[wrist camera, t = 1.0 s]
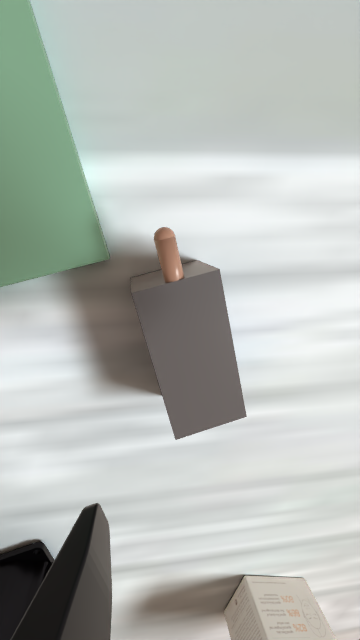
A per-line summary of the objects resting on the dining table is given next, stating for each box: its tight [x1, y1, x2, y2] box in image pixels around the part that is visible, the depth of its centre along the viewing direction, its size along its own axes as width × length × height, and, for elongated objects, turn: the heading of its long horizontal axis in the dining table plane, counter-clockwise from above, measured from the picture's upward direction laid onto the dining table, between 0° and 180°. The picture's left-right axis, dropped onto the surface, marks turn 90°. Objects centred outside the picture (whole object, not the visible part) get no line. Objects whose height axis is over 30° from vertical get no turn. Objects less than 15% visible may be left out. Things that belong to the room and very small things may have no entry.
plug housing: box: [130, 227, 246, 440], centre depth 16 cm, size 4×12×4 cm, turn 13°
